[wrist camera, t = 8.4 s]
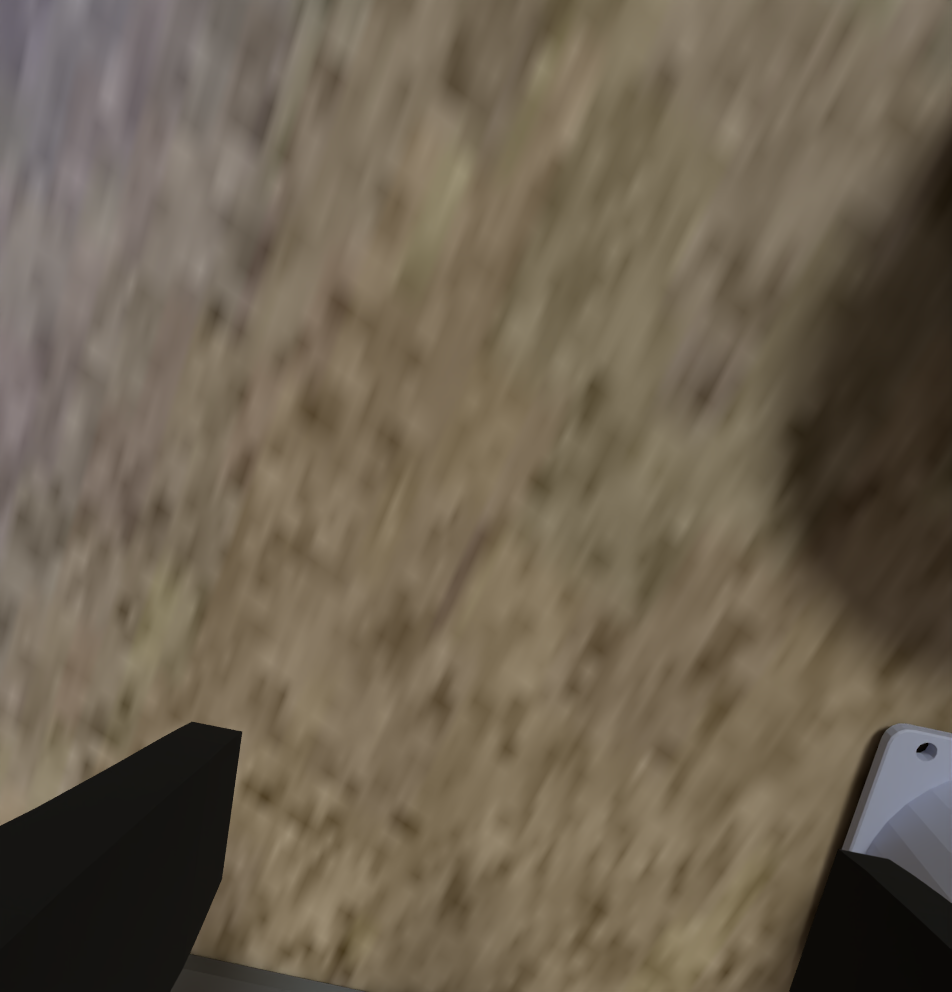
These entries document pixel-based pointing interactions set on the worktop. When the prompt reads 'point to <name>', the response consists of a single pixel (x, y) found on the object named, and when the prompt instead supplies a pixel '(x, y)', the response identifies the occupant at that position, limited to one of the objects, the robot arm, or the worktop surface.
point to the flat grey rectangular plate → (242, 979)
